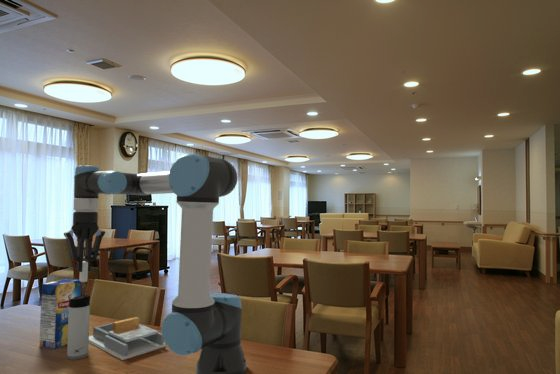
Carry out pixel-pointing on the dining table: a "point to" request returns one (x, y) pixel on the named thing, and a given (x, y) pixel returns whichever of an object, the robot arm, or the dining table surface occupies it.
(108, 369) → the dining table surface
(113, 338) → the dock
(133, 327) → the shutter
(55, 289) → the blue food box
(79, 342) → the travel mug
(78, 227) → the robot arm
